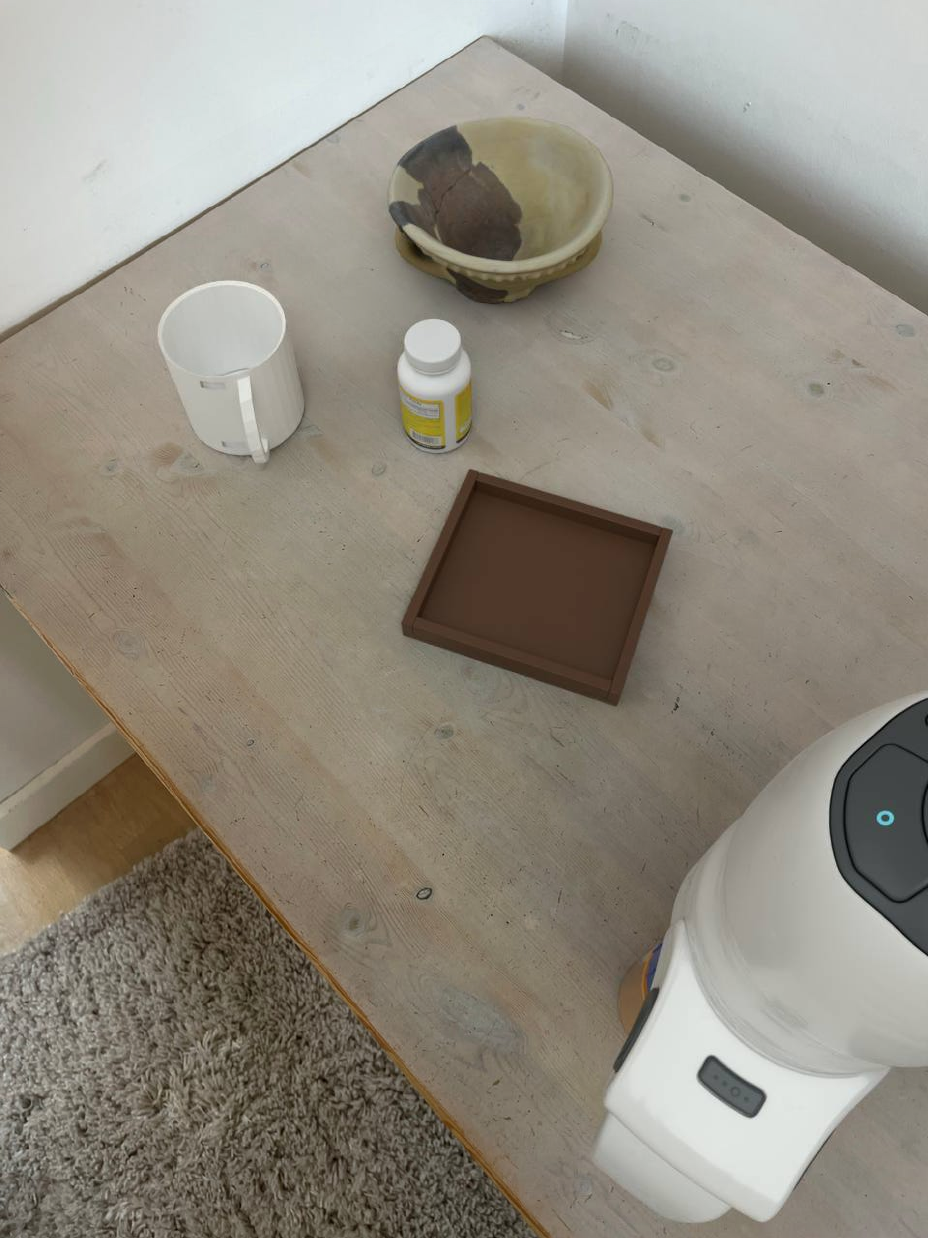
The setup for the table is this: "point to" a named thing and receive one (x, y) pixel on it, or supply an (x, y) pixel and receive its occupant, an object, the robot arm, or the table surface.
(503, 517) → the walnut tray
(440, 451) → the supplement bottle
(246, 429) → the mug
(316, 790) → the table surface
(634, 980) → the jam jar
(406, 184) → the bowl
